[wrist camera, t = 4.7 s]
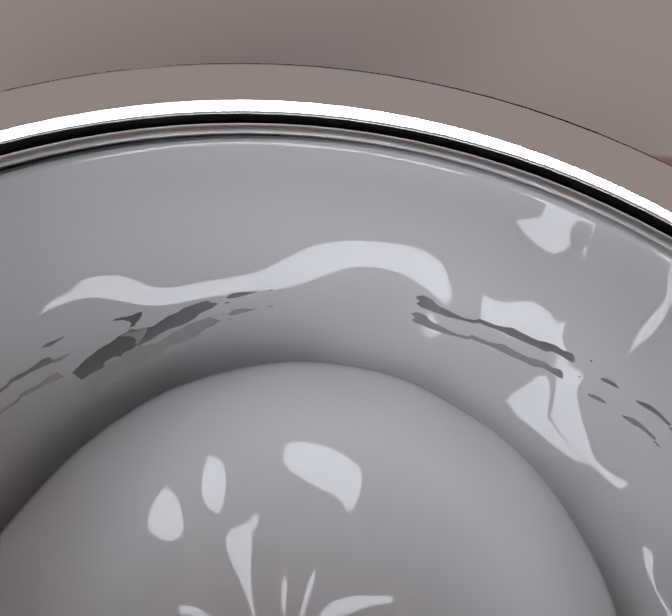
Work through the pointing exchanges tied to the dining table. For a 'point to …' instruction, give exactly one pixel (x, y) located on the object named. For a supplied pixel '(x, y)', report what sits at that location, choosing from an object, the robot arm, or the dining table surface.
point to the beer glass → (328, 351)
